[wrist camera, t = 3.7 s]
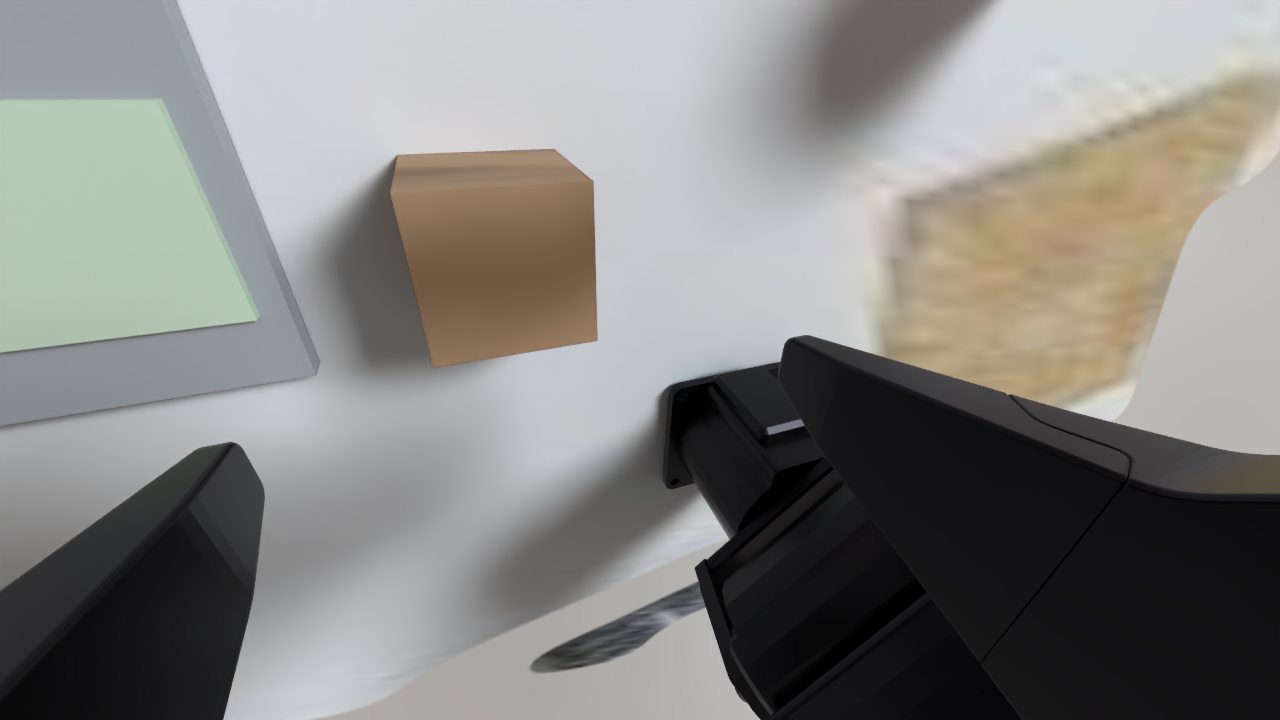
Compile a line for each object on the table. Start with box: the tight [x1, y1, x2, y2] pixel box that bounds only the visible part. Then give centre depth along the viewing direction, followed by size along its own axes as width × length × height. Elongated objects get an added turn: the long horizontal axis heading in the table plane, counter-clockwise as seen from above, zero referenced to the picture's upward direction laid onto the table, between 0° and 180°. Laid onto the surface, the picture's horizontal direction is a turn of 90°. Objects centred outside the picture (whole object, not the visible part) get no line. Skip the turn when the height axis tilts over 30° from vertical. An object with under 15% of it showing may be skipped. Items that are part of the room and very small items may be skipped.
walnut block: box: [390, 149, 597, 368], centre depth 14 cm, size 4×4×4 cm
